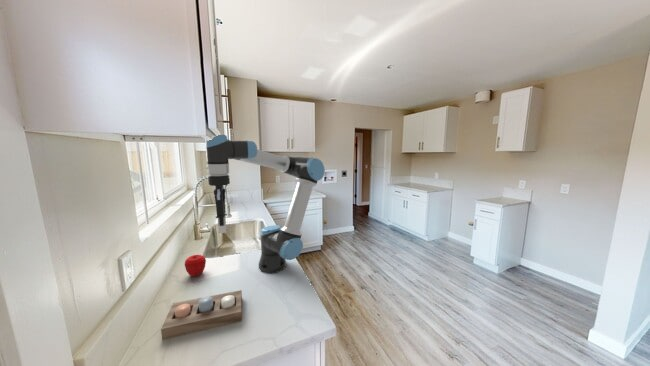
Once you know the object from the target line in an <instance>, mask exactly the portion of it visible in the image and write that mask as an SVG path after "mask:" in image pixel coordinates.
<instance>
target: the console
mask: <svg viewBox="0 0 650 366" xmlns="http://www.w3.org/2000/svg"><path fill="white" fill-rule="evenodd" d="M228 295H233V296H234V297H235V306H233V307H229V308H224V309H222V306H221V300H222V298H223V297H225V296H228ZM210 296H211V297H212V298H213V309H214V310H213V311H209V312H205V313H200V314H199V305H198V302H199V300H200V299H201V298H202V297H198V298H193V299H189V300H183V301H178V302H173V303H172V305H171V307H170V308H169V311H168V313H167V315H166V317H165V320H164V321H163V324H162V326H161V327H160V332H161V339H162V340H165V339H170V338H175V337H177V336H182V335H186V334H190V333H196V332H200V331H203V330H208V329H213V328H216V327H220V326H226V325H230V324H235V323H239V322H242V313H243V312H242V311H243V310H242V309H243V293H242V290H241V289H240V290H236V291H231V292H225V293H219V294H215V295H213V294H212V295H210ZM182 304H189V305H190V310H191V314H190V316H186V317H181V318H176V319H175V309H176V308H177V307H178V306H180V305H182Z"/></svg>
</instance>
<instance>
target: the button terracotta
mask: <svg viewBox="0 0 650 366" xmlns="http://www.w3.org/2000/svg"><path fill="white" fill-rule="evenodd" d="M190 314H191V310H190V305H189V304H182V305H180V306H178V307H177V308H176V309H175V319H176V318H181V317H186V316H190Z"/></svg>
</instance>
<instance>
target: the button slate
mask: <svg viewBox="0 0 650 366" xmlns="http://www.w3.org/2000/svg"><path fill="white" fill-rule="evenodd" d="M211 296H212V295H209V296H207V295H206V296H203V297H200V298H201V299H200V300H199V302H198V305H199V314H200V313H205V312H209V311H214V309H213V298H212V297H211Z"/></svg>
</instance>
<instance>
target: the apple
mask: <svg viewBox="0 0 650 366" xmlns="http://www.w3.org/2000/svg"><path fill="white" fill-rule="evenodd" d="M206 263H207V259H206V257H205V256H204V255H202V254H194V255H190V256H188V257H187V258H186V259H185V261H184V268H185V270H186V272H187V274H188V275H189V276H191V277H194V278H195V277H198V276H200V275H201V274H202V273H203V272H205V271H204V270H205V268H206Z"/></svg>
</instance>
